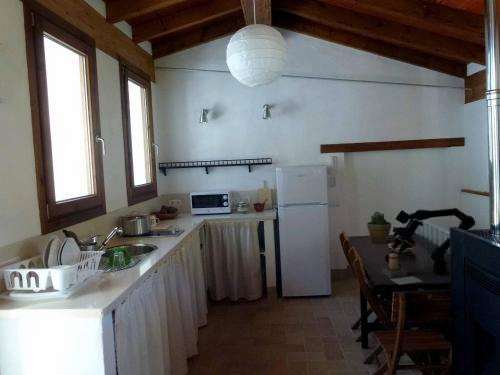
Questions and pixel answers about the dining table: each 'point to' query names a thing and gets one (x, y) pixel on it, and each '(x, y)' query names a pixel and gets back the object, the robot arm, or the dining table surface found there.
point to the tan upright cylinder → (393, 262)
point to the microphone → (388, 259)
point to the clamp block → (394, 272)
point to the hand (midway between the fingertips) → (396, 250)
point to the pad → (406, 280)
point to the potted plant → (379, 228)
